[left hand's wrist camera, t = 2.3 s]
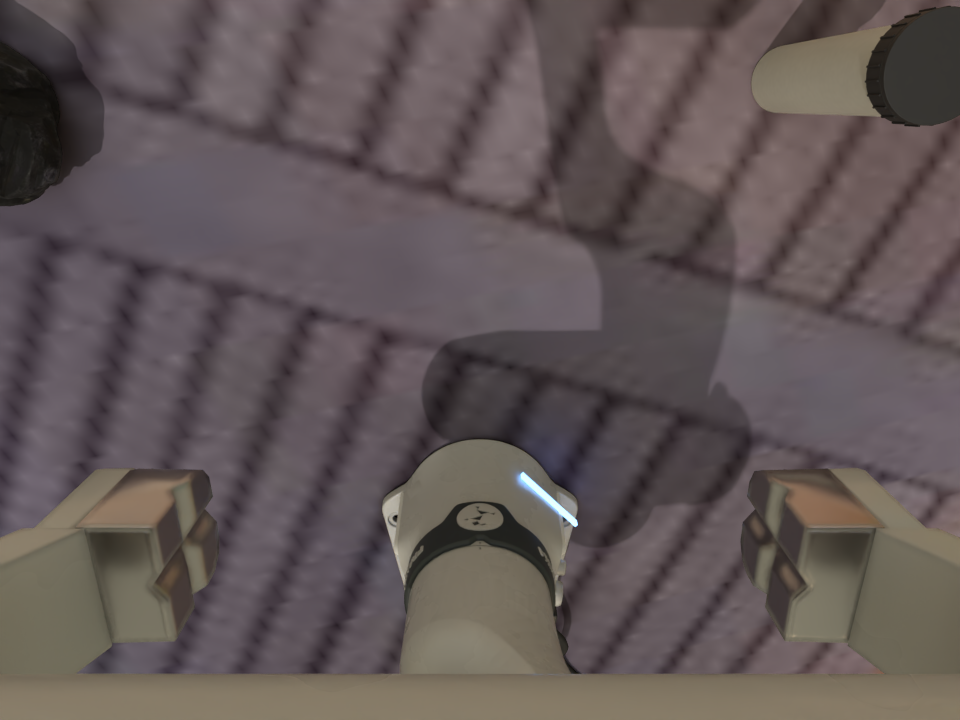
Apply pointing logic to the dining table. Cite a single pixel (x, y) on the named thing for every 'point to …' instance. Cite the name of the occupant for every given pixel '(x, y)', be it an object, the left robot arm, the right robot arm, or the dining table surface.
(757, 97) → the cream cylinder
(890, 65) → the lid
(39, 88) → the rock
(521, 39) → the dining table surface
